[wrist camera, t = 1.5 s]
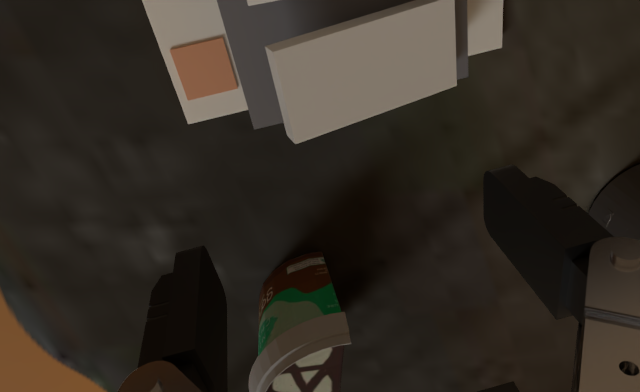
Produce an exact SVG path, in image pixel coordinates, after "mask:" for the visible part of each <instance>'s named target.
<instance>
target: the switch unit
mask: <svg viewBox="0 0 640 392" xmlns="http://www.w3.org/2000/svg"><path fill="white" fill-rule="evenodd" d="M411 1H414V0H278V1H273V2H267V3H262V4H257V5H251V6H248V3H247V0H142V2H143V4H144V7H145V10H146V12H147V15H148V18H149V20H150V23H151V26H152V28H153V31H154V34H155V36H156V39H157V42H158V44H159V47H160V50H161V52H162V55H163V58H164V61H165V63H166V66H167V69H168V71H169V74H170V77H171V79H172V82H173V85H174V87H175V90H176V93H177V95H178V98H179V101H180V103H181V106H182V109H183V111H184V114H185V117H186V119H187V122H188V124H192V123H196V122H200V121H204V120H208V119H212V118H216V117H220V116H224V115H228V114H233V113H237V112H241V111H245V110H249V113H250V117H251V120H252V123H253V127H254V129H258V128H262V127H266V126H271V125H275V124H279V123H283V122H284V121H283V117H282V113H281V109H280V105H279V101H278V97H277V93H276V89H275V85H274V81H273V77H272V73H271V69H270V65H269V61H268V57H267V53H266V49H265V46H267V45H271V44H274V43H277V42H280V41H284V40H287V39H290V38H293V37H297V36H300V35H303V34H306V33H310V32H313V31H316V30H319V29H323V28H326V27H329V26H333V25H336V24H339V23H342V22H346V21H349V20H352V19H355V18H359V17H362V16H365V15H368V14H372V13H375V12H378V11H381V10H385V9H388V8H391V7H395V6H398V5H401V4H404V3H408V2H411ZM502 28H503V0H455V34H456V72H457V79H461V78H465V77H468V56H470V55H474V54H478V53H482V52H486V51H490V50H494V49H498V48H502Z"/></svg>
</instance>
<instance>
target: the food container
mask: <svg viewBox="0 0 640 392" xmlns="http://www.w3.org/2000/svg"><path fill="white" fill-rule="evenodd" d="M347 344H351V340H350V337H349V329H348V324H347V320H346V315H345V312H341V309H340V306H339V303H338V300H337V297H336V294H335V291H334V288H333V284H332V281H331V278H330V275H329V272H328V269H327V266H326V263H325V260H324V257H323V254H322V251H321V252H314V253H307V254H304V255H302V256H299V257H296V258H293V259H291V260H288V261H287V262H285V263H284V264H282V265H281V266H280V267H278V268H277V269H275V270H274V271H273V272H272V273H271V274H270V276H269V277H268V278H267V279H266V281H265V282H264V283H263V286H262V289H261V292H260V296H259V352H258V358H257V359H256V361H255V363H254V365H253V367H252V370H251V373H250V376H249V391H250V392H340V388H341V373H342V362H343V353H344V345H347Z"/></svg>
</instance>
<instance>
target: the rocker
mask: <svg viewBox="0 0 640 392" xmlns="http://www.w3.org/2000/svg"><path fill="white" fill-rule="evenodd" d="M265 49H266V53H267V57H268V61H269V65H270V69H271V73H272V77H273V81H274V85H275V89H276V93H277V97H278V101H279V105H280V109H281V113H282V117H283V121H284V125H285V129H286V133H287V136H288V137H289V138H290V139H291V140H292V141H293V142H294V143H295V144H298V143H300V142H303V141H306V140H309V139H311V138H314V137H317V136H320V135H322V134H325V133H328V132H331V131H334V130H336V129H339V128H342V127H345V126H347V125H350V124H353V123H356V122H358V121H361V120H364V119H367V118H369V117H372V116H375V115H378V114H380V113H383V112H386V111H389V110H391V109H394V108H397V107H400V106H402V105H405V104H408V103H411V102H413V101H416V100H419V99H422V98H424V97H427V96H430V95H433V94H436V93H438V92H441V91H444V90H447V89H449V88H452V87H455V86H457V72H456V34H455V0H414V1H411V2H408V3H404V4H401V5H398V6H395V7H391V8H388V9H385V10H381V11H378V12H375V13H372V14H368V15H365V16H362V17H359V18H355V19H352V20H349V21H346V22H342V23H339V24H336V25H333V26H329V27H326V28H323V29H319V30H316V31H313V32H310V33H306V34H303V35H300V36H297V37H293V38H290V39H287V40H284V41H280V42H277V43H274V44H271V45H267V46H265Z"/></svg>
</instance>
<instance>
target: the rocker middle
mask: <svg viewBox="0 0 640 392" xmlns="http://www.w3.org/2000/svg"><path fill="white" fill-rule="evenodd" d="M273 1H278V0H247V3H248V6H251V5H257V4H262V3H267V2H273Z"/></svg>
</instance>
